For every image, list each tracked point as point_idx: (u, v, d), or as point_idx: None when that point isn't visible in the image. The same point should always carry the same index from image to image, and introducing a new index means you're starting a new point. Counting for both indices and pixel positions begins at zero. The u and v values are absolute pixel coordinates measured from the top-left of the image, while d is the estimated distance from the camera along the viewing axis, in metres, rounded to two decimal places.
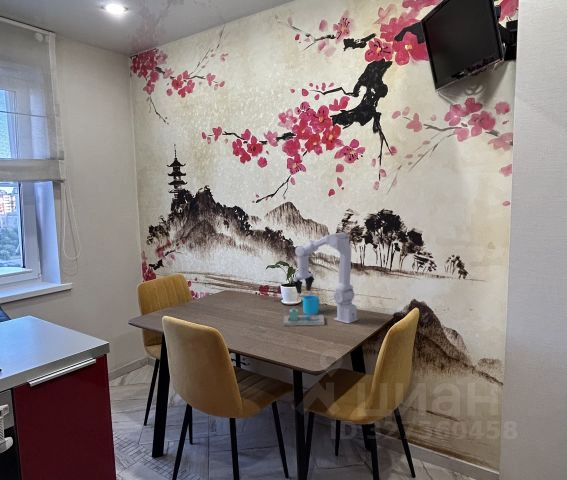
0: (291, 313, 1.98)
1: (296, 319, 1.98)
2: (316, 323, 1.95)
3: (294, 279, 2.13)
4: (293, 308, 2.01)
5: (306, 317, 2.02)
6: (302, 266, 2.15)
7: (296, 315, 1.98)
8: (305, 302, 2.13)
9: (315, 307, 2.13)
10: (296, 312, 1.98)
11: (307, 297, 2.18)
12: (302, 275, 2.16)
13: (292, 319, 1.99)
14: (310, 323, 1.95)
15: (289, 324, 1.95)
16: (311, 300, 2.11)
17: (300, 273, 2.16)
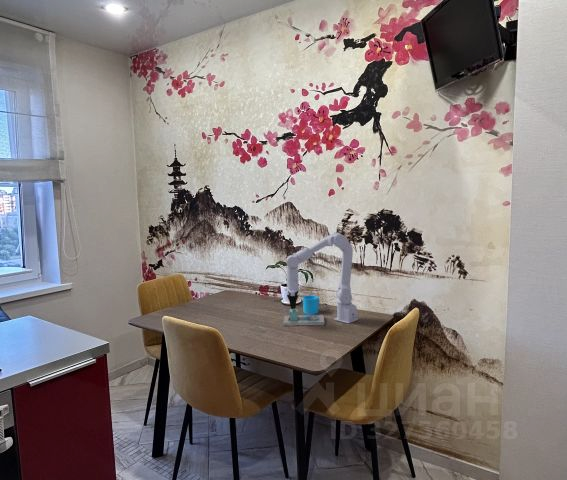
0: (291, 313, 1.98)
1: (296, 319, 1.98)
2: (316, 323, 1.95)
3: (292, 293, 1.92)
4: None
5: (306, 317, 2.02)
6: (296, 278, 1.96)
7: (296, 315, 1.98)
8: (305, 302, 2.13)
9: (315, 307, 2.13)
10: (296, 312, 1.98)
11: (307, 297, 2.18)
12: (295, 288, 1.96)
13: (292, 319, 1.99)
14: (310, 323, 1.95)
15: (289, 324, 1.95)
16: (311, 300, 2.11)
17: (293, 286, 1.96)
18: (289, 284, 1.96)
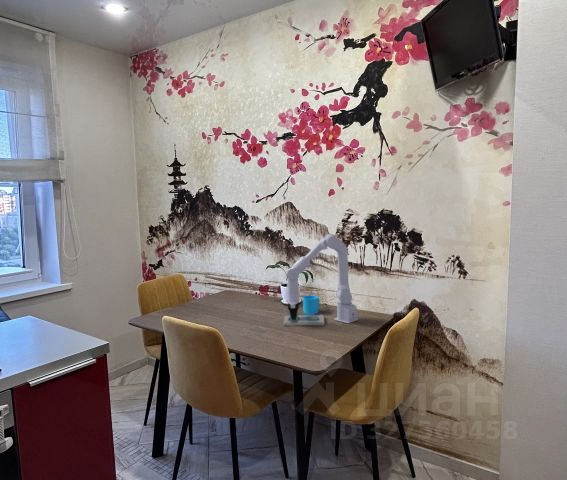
0: None
1: (296, 319, 1.98)
2: (316, 323, 1.95)
3: (293, 306, 1.92)
4: None
5: (306, 317, 2.02)
6: (296, 290, 1.96)
7: None
8: (305, 302, 2.13)
9: (315, 307, 2.13)
10: None
11: (307, 297, 2.18)
12: (296, 300, 1.97)
13: None
14: (310, 323, 1.95)
15: (289, 324, 1.95)
16: (311, 300, 2.11)
17: (293, 298, 1.96)
18: (289, 296, 1.97)
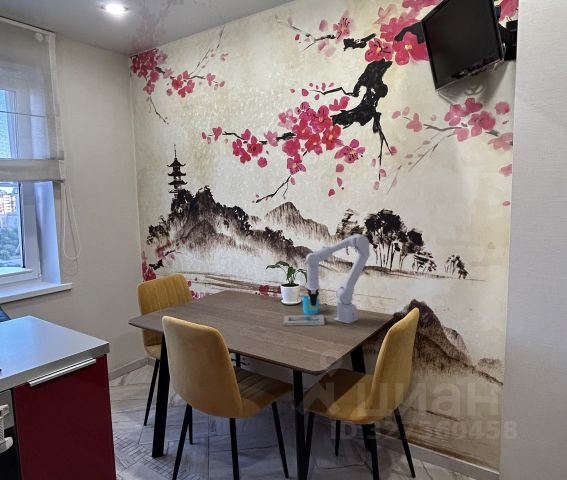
0: None
1: (315, 306, 1.97)
2: (316, 323, 1.95)
3: (313, 291, 1.91)
4: None
5: (306, 317, 2.02)
6: (316, 275, 1.95)
7: None
8: (305, 302, 2.13)
9: None
10: None
11: (307, 297, 2.18)
12: (316, 286, 1.95)
13: (311, 306, 1.97)
14: (310, 323, 1.95)
15: (289, 324, 1.95)
16: None
17: (313, 284, 1.95)
18: (309, 282, 1.95)
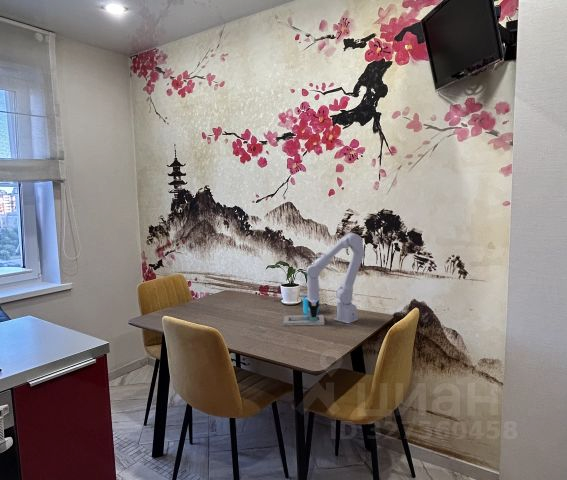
0: (310, 312, 1.98)
1: (315, 318, 1.98)
2: (316, 323, 1.95)
3: (313, 303, 1.92)
4: None
5: (306, 317, 2.02)
6: (317, 287, 1.96)
7: None
8: (305, 302, 2.13)
9: None
10: None
11: None
12: (316, 297, 1.96)
13: (311, 318, 1.98)
14: (310, 323, 1.95)
15: (289, 324, 1.95)
16: None
17: (314, 296, 1.96)
18: (310, 294, 1.96)
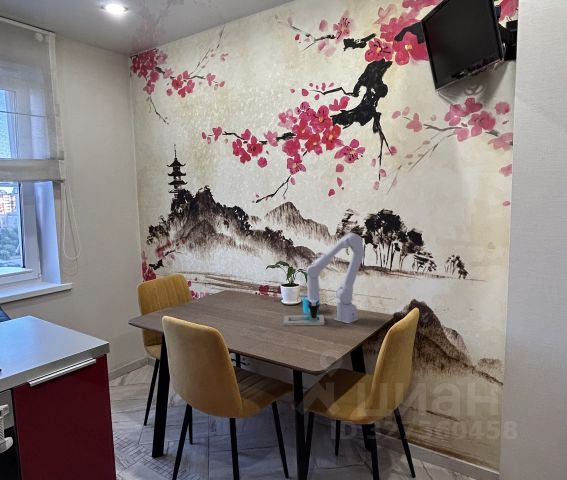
0: (310, 313, 1.98)
1: (315, 319, 1.98)
2: (316, 323, 1.95)
3: (313, 303, 1.92)
4: None
5: (306, 317, 2.02)
6: (317, 287, 1.96)
7: None
8: (305, 302, 2.13)
9: None
10: None
11: None
12: (316, 297, 1.96)
13: (311, 319, 1.98)
14: (310, 323, 1.95)
15: (289, 324, 1.95)
16: None
17: (314, 296, 1.96)
18: (310, 294, 1.96)
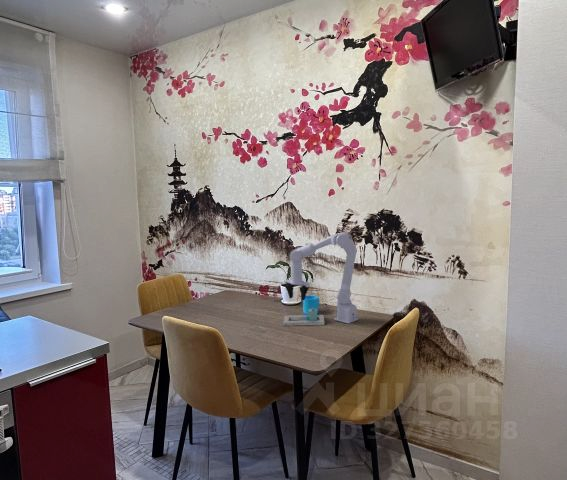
0: (310, 313, 1.98)
1: (315, 319, 1.98)
2: (316, 323, 1.95)
3: None
4: (312, 308, 2.00)
5: (306, 317, 2.02)
6: (298, 271, 2.01)
7: (315, 315, 1.98)
8: (305, 302, 2.13)
9: (315, 307, 2.13)
10: (315, 312, 1.98)
11: (307, 297, 2.18)
12: (291, 280, 2.05)
13: (311, 319, 1.98)
14: (310, 323, 1.95)
15: (289, 324, 1.95)
16: (311, 300, 2.11)
17: None
18: None
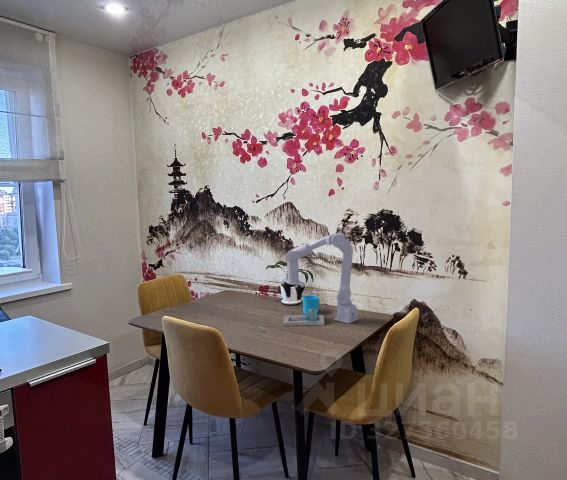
0: (310, 313, 1.98)
1: (315, 319, 1.98)
2: (316, 323, 1.95)
3: None
4: (312, 308, 2.00)
5: (306, 317, 2.02)
6: (294, 271, 2.03)
7: (315, 315, 1.98)
8: (305, 302, 2.13)
9: (315, 307, 2.13)
10: (315, 312, 1.98)
11: (307, 297, 2.18)
12: None
13: (311, 319, 1.98)
14: (310, 323, 1.95)
15: (289, 324, 1.95)
16: (311, 300, 2.11)
17: None
18: None
